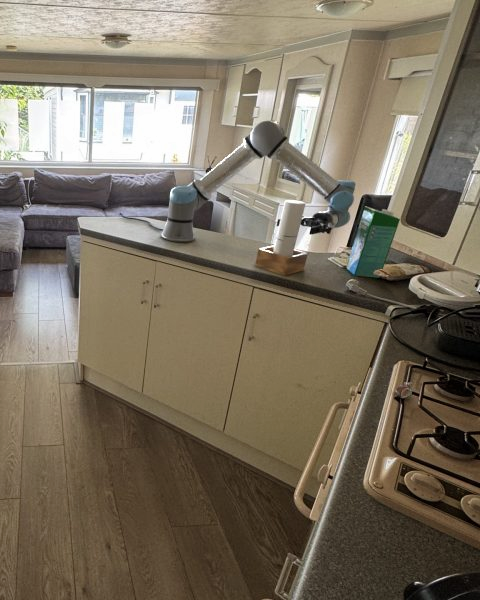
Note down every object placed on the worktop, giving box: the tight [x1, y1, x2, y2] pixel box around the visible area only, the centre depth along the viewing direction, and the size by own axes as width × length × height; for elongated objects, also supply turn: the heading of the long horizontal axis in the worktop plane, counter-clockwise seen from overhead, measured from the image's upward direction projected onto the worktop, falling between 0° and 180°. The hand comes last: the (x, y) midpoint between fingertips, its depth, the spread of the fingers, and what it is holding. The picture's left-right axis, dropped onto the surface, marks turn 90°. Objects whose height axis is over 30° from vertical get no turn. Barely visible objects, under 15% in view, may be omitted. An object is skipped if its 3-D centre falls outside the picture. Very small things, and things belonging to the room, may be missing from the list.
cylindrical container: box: [273, 199, 307, 257], centre depth 164 cm, size 7×7×25 cm
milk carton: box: [345, 206, 401, 279], centre depth 163 cm, size 9×9×25 cm
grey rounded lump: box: [394, 381, 413, 399], centre depth 93 cm, size 3×2×4 cm
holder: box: [254, 244, 309, 277], centre depth 168 cm, size 13×13×7 cm
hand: (293, 226), depth 165 cm, fingers open, 13 cm apart
